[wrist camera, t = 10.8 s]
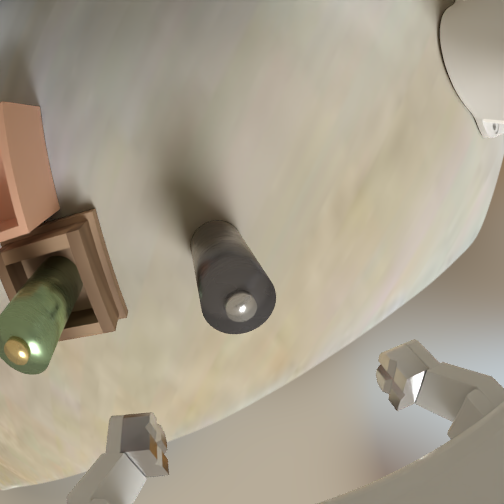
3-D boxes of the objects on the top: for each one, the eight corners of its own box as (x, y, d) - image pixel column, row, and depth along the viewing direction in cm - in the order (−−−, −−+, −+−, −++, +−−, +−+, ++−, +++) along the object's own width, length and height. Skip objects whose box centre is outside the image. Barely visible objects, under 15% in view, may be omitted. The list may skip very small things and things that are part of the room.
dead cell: (237, 215, 24) (275, 264, 15) (245, 262, 26) (282, 329, 17) (186, 226, 24) (194, 283, 15) (196, 273, 25) (211, 347, 16)
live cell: (73, 250, 21) (25, 318, 12) (89, 296, 22) (58, 378, 14) (32, 261, 20) (-24, 327, 12) (49, 305, 22) (9, 382, 13)
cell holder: (95, 208, 21) (83, 220, 18) (128, 311, 25) (123, 335, 22) (4, 236, 20) (-15, 251, 17) (42, 328, 23) (30, 350, 20)
